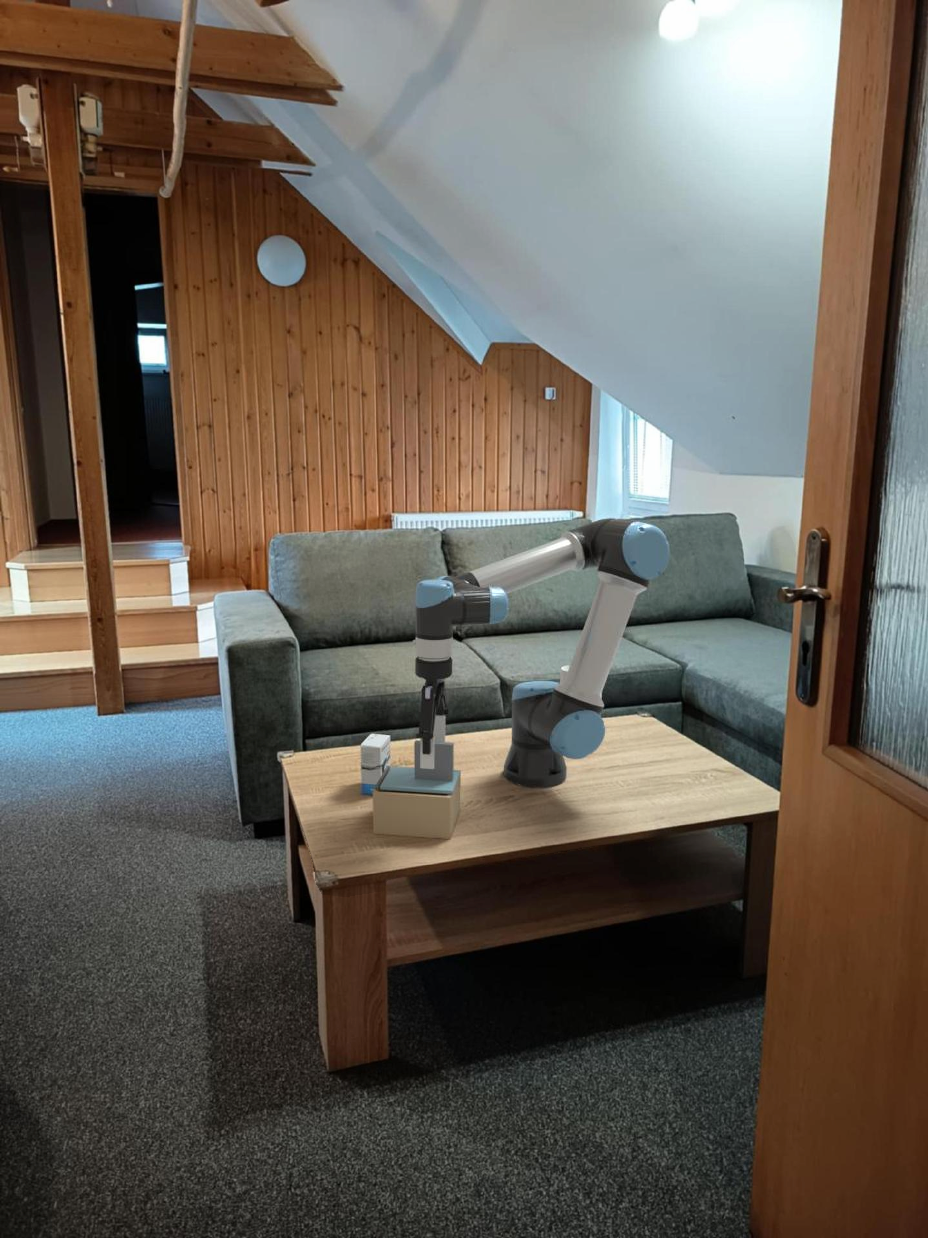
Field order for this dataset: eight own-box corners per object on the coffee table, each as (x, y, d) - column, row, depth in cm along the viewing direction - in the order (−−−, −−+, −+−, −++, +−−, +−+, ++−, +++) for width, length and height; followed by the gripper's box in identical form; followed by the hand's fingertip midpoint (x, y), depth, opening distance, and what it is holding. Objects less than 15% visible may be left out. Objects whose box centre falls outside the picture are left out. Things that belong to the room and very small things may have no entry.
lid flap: (460, 773, 183) (460, 735, 181) (452, 794, 173) (452, 753, 171) (386, 769, 185) (386, 730, 184) (374, 789, 175) (373, 749, 173)
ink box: (381, 796, 194) (380, 747, 191) (360, 794, 195) (359, 745, 192) (391, 781, 202) (391, 734, 199) (371, 779, 203) (371, 732, 200)
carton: (460, 810, 187) (460, 771, 185) (450, 839, 173) (450, 797, 171) (388, 805, 189) (388, 767, 187) (373, 833, 175) (372, 792, 173)
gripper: (426, 641, 185) (426, 734, 190) (402, 671, 161) (402, 777, 166) (461, 643, 184) (459, 736, 189) (442, 674, 160) (441, 780, 165)
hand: (433, 756), depth 177 cm, fingers open, 13 cm apart
